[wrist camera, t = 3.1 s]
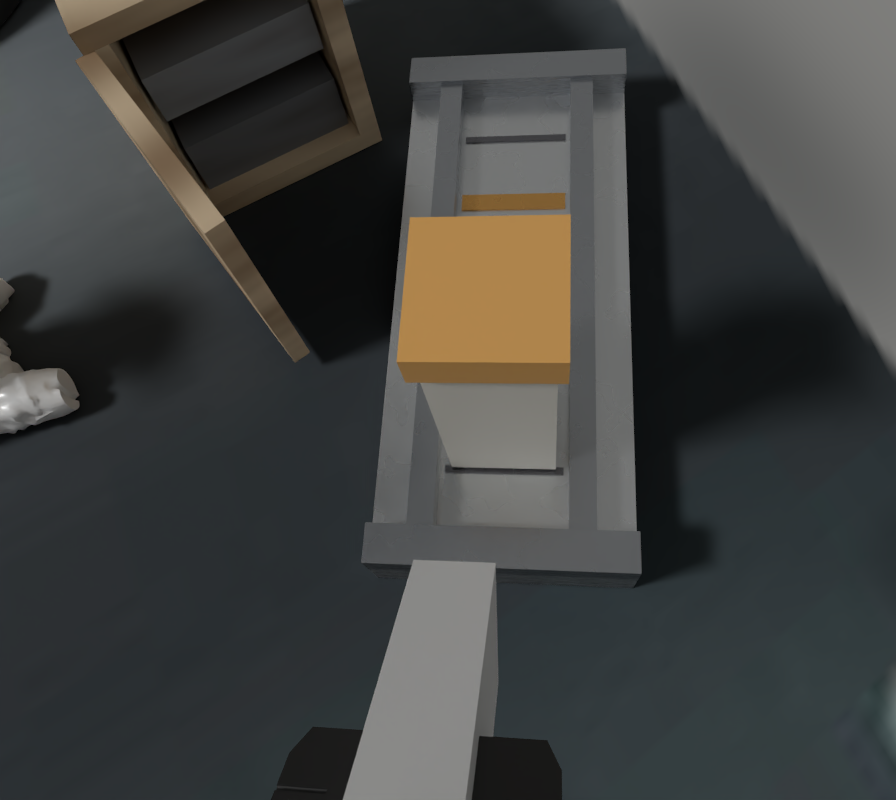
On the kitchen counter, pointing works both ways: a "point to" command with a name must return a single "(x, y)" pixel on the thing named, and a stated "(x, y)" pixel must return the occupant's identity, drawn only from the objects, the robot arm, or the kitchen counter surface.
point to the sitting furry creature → (31, 388)
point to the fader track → (591, 324)
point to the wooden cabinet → (229, 105)
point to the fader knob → (489, 333)
